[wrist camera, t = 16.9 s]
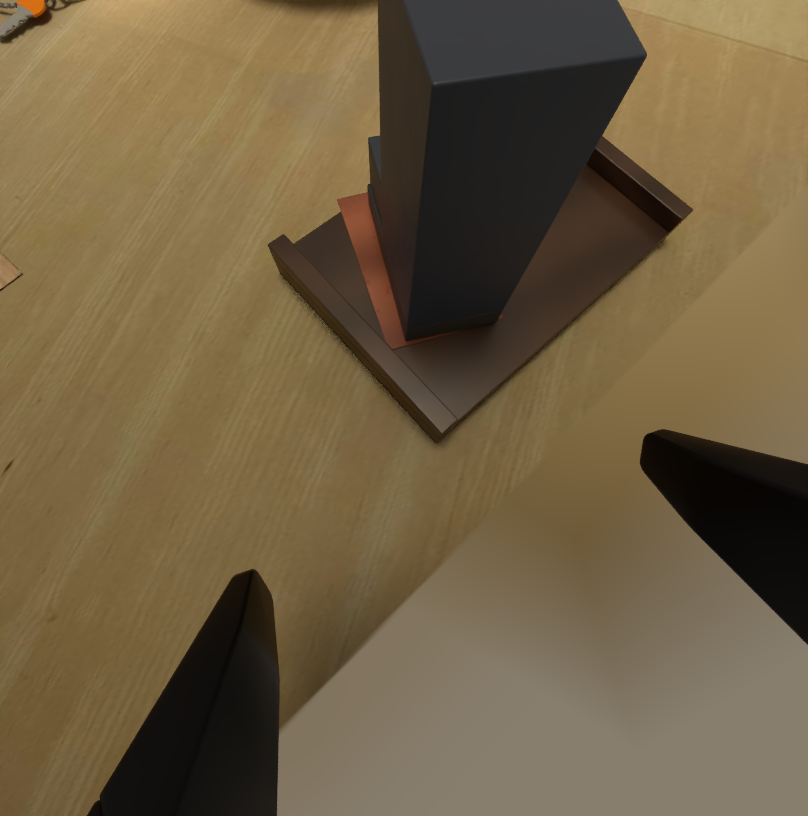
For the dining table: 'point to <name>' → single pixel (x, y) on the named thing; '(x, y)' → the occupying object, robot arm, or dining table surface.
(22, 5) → the key chain
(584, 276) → the brown serving tray
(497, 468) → the dining table surface
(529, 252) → the charcoal gray box
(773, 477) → the robot arm
